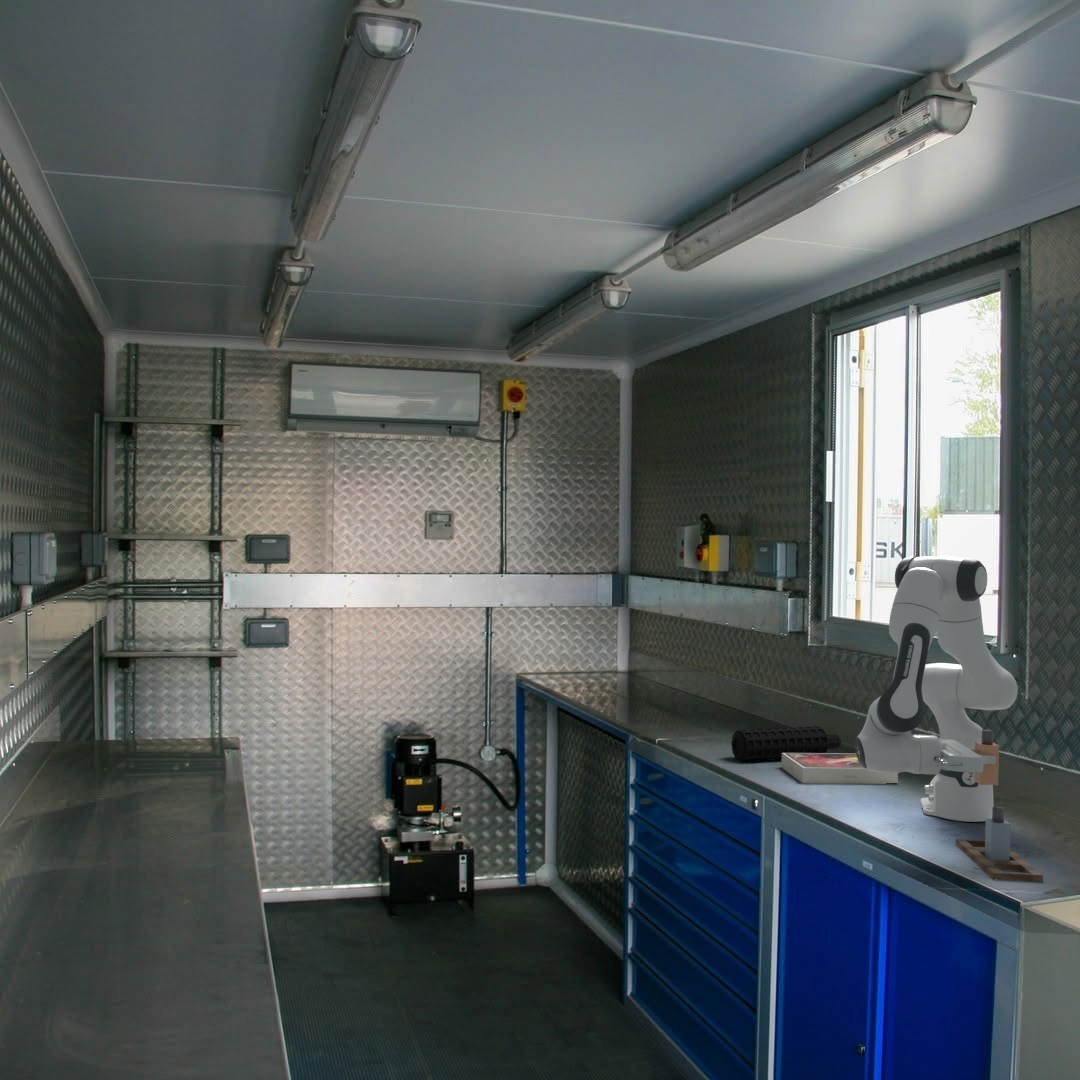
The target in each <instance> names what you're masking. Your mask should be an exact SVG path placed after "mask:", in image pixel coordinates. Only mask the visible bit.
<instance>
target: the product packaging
mask: <svg viewBox="0 0 1080 1080" xmlns="http://www.w3.org/2000/svg"><path fill="white" fill-rule="evenodd" d="M780 768H781V769H783V770H784V771H785V772H787V773H788V774H790V775H791V776H792V777H794V778H795V779H796V780H798V781H799V782H800V783H802V784H823V785H824V784H827V785H828V784H830V785H832V784H837V785H839V784H840V785H841V784H842V785H848V784H849V785H850V784H851V785H887V784H886V783H899V773H885V772H876V771H871V770H867V769H865V768H864V767H863V766H862V765H861V764H860V762H859V761H858V758H857V755H856V753H839V752H838V753H837V752H835V753H833V752H832V753H831V752H830V753H828V752H827V753H782V760H781V767H780Z"/></svg>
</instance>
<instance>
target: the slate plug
mask: <svg viewBox="0 0 1080 1080" xmlns="http://www.w3.org/2000/svg"><path fill="white" fill-rule="evenodd" d="M984 826H985V828H984V829H985V830H984V831H985V832H984V836H985V837H984V838H985V839H984V840H985V858H987V859H988V860H1009V861H1010V849H1011V823H1010V822H1008V821H1007V820H1006V819H1005V807H1002V806H994V807H992V819H986V821H985V825H984Z"/></svg>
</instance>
